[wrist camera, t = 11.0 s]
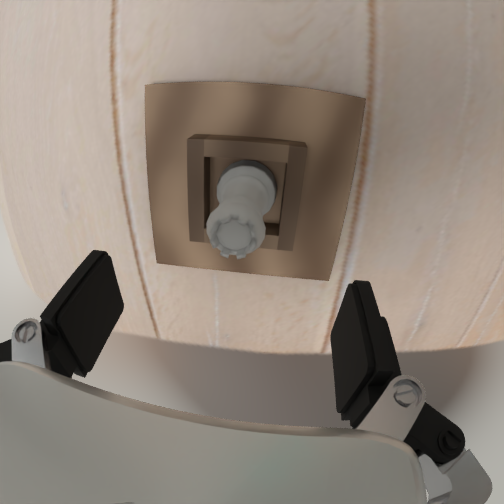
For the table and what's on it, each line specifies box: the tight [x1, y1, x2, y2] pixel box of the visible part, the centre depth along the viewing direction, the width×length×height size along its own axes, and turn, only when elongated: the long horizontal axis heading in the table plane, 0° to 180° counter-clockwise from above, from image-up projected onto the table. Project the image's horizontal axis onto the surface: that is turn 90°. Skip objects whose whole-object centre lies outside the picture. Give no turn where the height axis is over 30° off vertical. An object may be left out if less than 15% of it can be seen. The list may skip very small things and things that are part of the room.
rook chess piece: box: [206, 160, 277, 259], centre depth 18 cm, size 4×4×8 cm
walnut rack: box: [145, 82, 366, 281], centre depth 21 cm, size 16×16×3 cm
